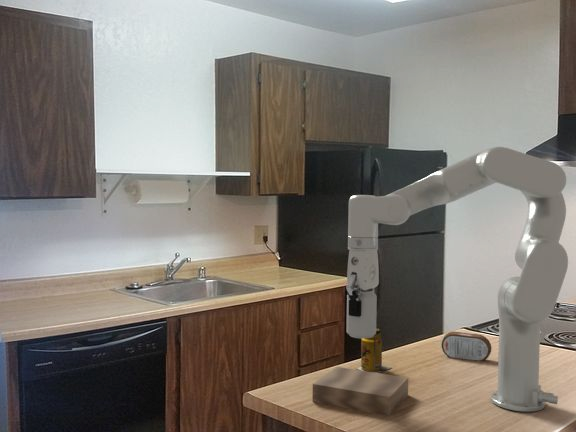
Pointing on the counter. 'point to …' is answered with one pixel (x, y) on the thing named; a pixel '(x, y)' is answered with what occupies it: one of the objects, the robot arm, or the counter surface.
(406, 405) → the counter surface
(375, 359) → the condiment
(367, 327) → the can
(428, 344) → the counter surface
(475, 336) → the tin
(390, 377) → the chopping block
